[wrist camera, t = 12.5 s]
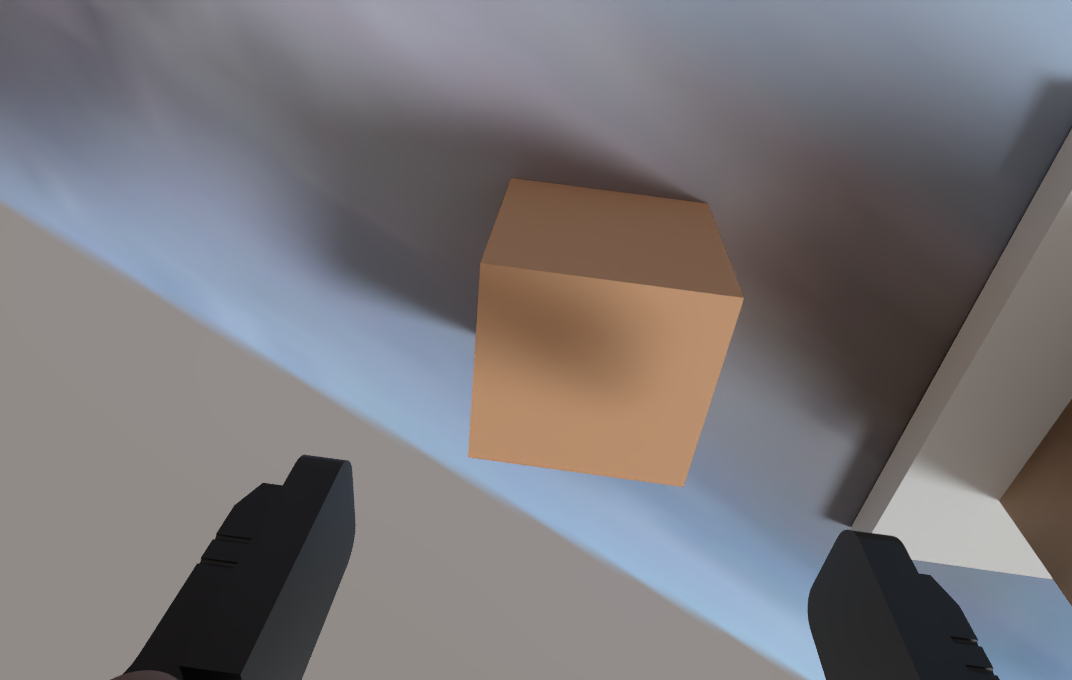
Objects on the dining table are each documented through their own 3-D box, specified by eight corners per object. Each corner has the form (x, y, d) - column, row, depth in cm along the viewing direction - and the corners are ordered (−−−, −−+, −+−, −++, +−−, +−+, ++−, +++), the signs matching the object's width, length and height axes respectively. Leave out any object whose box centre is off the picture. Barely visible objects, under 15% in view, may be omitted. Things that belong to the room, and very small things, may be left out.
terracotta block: (511, 176, 16) (480, 263, 12) (707, 202, 16) (744, 297, 12) (497, 340, 19) (468, 457, 15) (665, 363, 19) (683, 487, 15)
